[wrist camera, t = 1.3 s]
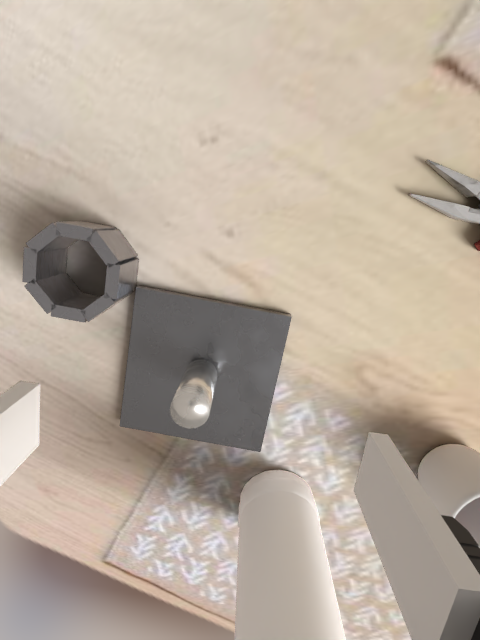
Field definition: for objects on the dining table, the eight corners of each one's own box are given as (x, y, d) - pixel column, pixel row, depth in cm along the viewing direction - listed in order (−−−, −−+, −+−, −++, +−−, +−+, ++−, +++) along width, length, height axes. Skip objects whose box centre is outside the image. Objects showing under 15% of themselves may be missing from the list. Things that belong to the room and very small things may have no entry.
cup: (465, 527, 40) (516, 601, 32) (391, 517, 40) (424, 588, 32) (497, 438, 37) (562, 496, 29) (417, 427, 37) (461, 481, 29)
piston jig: (139, 285, 34) (106, 304, 27) (290, 314, 35) (301, 341, 27) (123, 420, 38) (90, 472, 30) (259, 446, 38) (262, 503, 30)
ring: (58, 216, 33) (25, 215, 28) (142, 232, 33) (123, 234, 28) (53, 298, 35) (21, 310, 30) (132, 312, 35) (113, 328, 30)
